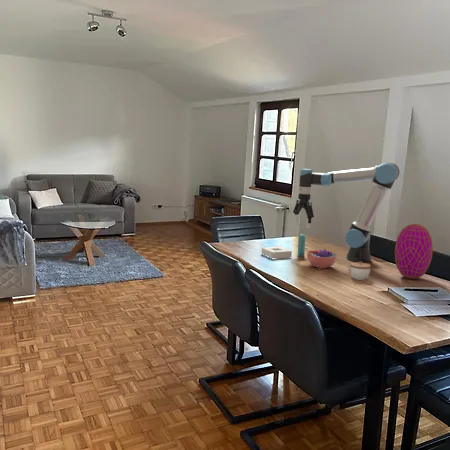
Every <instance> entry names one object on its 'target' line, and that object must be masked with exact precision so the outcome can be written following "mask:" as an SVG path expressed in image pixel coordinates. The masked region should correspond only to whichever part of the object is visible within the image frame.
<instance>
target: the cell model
mask: <svg viewBox="0 0 450 450" xmlns="http://www.w3.org/2000/svg"><path fill="white" fill-rule="evenodd" d="M337 254H338V253H335V252H333V251H332V250H331V251H329V250H326V249H324V248H323V249H319V250H318V249H317V250H315V249H314V250H310V251H309V250H308V251H307V255H306V258H307V260H308V262H309V263H310V265H311V266H312V267H315V268H319V269H328V268H330V267H333V266H334V265H335V263H336V262H337V261H336V259H337V258H338V255H337Z"/></svg>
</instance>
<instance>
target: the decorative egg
mask: <svg viewBox="0 0 450 450" xmlns="http://www.w3.org/2000/svg"><path fill="white" fill-rule="evenodd" d="M432 259H433V240H432V236H431V233H430V232H429V229H427V228H426V227H425V226H424V225H421V224H419V223H418V224H417V223H412V224H408V225H406V226H405V227H402V229H401V230H400V232H399V234H398V236H397V238H396V241H395V246H394V261H395V266H396V268H397V270H398V272H399V274H400V275H401V276H403V277H404V278H407V279H410V280H411V279H412V280H416V279H419V278H422V277H423V276H424V274H425V273H427V271H428V269H429V267H430V265H431V262H432Z"/></svg>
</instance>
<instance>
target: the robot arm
mask: <svg viewBox="0 0 450 450" xmlns="http://www.w3.org/2000/svg"><path fill="white" fill-rule="evenodd" d="M400 172H401V171H400V168H399V167H398V165H397V164H396V163H394V162H383V163H380V164H379V165H375V166H374V167H367V168H358V169H346V170H337V171H326V172H313V169H311V168H301V169H300V171H299V173H300V174H299V182H298V183H299V185H298V195H297V196H298V197H297V198H298V199H296V203H295V206H294V208H293V211H292V212H293V214H294V225H296V226H297V225H299V224H300V213H301V211H302V209H304V211H305V214H306V216H307V217H306V226H305V228H306V229H311V224H312V218H314V217H315V216H314V209H313V206H312V205H313V203H312V201H310V200H311V195H312V194H311V193H312V185H314V186H324V187H328V186H331V185H334V184H342V183H344V184H345V183H354V182H355V183H356V182H363V181H364V182H365V181H371V183H372V187H371V189H370V190H369V193H368V195H367V197H366V199H365V201H364V203H363V206H362V208H361V210H360V211H359V214H358V215H357V218H356V220H355V221H352V223H351V225H350V226H349V229H348V230H347V232H346V233H345V236H344V241H345V243H346V244H347V245H348V247H349V248H348V252H347V253H346V257H345V258H346V259H347V260H349V261H352V262H360V261H361V262H362V263H367V262H371V260H372V256H371V251H370V241H371V230H372V228H371V227H372V226H371V224H372V222H373V220H374V219H375V216H376V214H377V212H378V210H379V208H380V206H381V204H382V201H383V200H384V197H385V196H386V194H387V191H389V190H391V189H392V188H393V186H394V183H395V182H396V180H397V179H398V178H399V176H400Z"/></svg>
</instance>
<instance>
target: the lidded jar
mask: <svg viewBox="0 0 450 450" xmlns="http://www.w3.org/2000/svg"><path fill="white" fill-rule="evenodd" d="M349 265H350V266H349V267H350V268H349V271H350V275H351V276H352V277H353V279H355V280H358V281H359V280H360V281H363V280H366V279H367V278H368V277H369V276H370V273H371V267H372V266H371V264H369V263H367V262H361V261H360V262H358V261H352V262H350V264H349Z"/></svg>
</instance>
